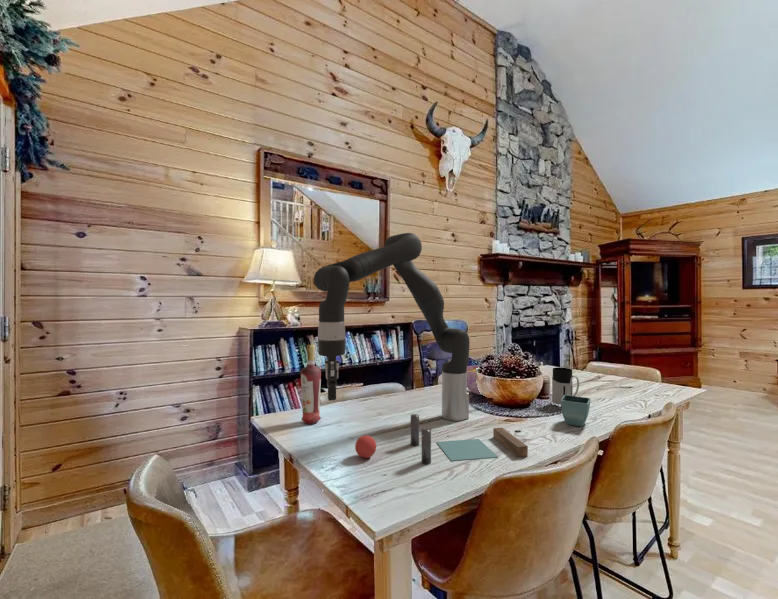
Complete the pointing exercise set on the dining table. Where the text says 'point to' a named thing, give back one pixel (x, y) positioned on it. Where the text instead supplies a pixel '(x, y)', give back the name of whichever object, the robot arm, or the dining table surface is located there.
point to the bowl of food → (472, 379)
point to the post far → (414, 430)
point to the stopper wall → (510, 442)
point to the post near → (426, 445)
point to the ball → (365, 446)
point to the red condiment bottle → (311, 389)
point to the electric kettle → (562, 384)
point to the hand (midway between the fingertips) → (331, 399)
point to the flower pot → (575, 409)
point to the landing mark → (466, 449)
